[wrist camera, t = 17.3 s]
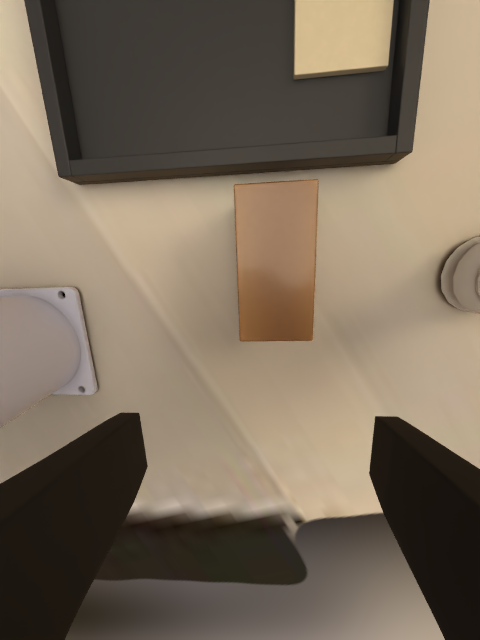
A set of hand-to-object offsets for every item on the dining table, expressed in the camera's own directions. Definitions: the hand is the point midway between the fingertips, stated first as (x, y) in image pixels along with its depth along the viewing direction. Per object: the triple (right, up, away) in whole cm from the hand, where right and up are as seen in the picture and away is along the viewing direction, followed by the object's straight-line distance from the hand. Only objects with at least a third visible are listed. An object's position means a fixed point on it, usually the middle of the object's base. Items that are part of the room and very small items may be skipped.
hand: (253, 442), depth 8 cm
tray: (-1, +18, +6) cm, 19 cm away
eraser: (+2, +7, +8) cm, 11 cm away
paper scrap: (+4, +18, +5) cm, 19 cm away
